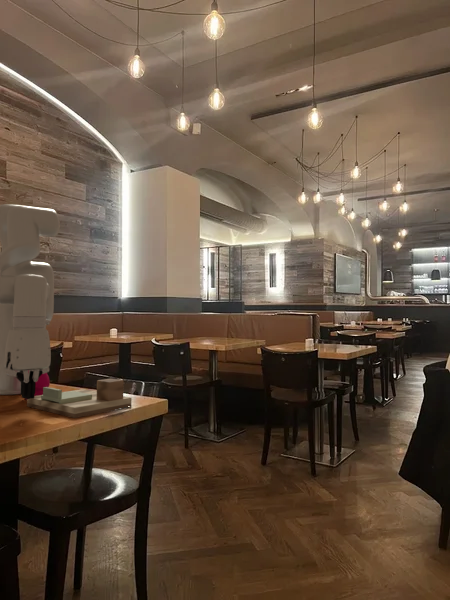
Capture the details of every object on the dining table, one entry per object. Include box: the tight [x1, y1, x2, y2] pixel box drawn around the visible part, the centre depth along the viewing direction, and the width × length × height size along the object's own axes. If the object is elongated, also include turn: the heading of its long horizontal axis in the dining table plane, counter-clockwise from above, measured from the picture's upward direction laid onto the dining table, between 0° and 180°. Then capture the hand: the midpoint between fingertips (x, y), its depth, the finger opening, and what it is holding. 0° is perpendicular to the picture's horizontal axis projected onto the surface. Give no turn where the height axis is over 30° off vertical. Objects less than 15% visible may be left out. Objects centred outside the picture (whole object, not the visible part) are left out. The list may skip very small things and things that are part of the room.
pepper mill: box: [25, 370, 51, 401], centre depth 137 cm, size 7×7×20 cm
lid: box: [41, 386, 92, 404], centre depth 122 cm, size 9×10×3 cm
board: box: [26, 388, 133, 419], centre depth 125 cm, size 22×18×2 cm
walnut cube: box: [96, 378, 125, 401], centre depth 123 cm, size 5×5×5 cm
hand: (27, 397), depth 113 cm, fingers closed
